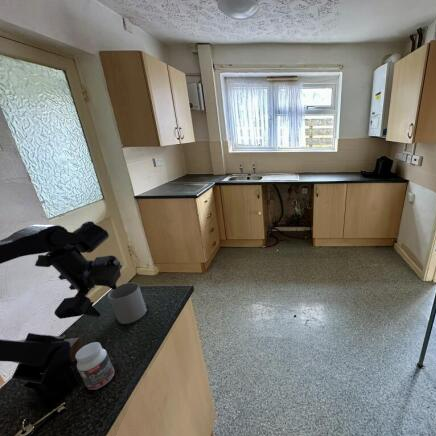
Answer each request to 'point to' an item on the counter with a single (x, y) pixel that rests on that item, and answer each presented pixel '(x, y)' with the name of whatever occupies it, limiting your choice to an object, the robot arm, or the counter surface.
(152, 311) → the counter surface
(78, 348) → the walnut block
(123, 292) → the cup
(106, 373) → the pill bottle
